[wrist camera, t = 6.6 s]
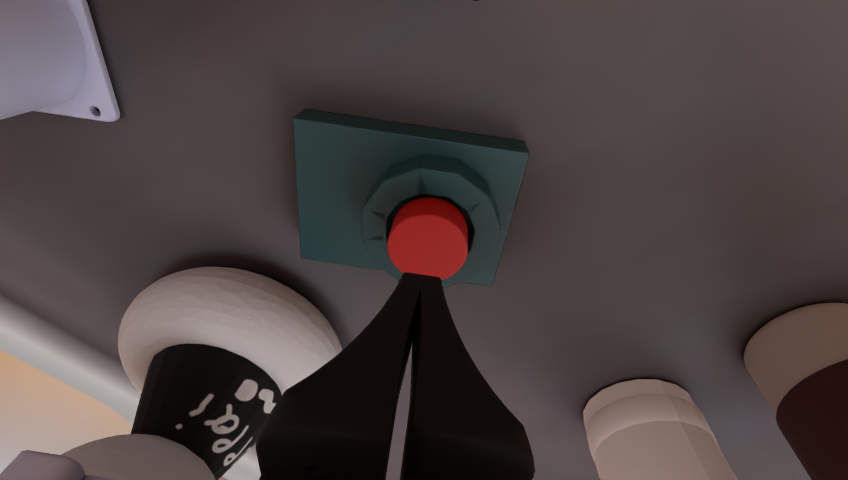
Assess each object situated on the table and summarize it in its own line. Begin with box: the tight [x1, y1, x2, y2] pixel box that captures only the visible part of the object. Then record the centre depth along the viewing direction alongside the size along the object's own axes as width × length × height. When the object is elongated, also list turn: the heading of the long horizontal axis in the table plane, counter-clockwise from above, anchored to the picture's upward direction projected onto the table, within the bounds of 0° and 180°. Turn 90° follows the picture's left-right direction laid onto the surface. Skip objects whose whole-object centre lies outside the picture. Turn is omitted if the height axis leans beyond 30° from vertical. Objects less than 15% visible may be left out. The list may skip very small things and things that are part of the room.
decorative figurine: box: [62, 267, 342, 480], centre depth 20 cm, size 15×15×20 cm
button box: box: [293, 109, 529, 287], centre depth 20 cm, size 11×8×4 cm
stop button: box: [388, 197, 468, 280], centre depth 18 cm, size 4×4×2 cm
